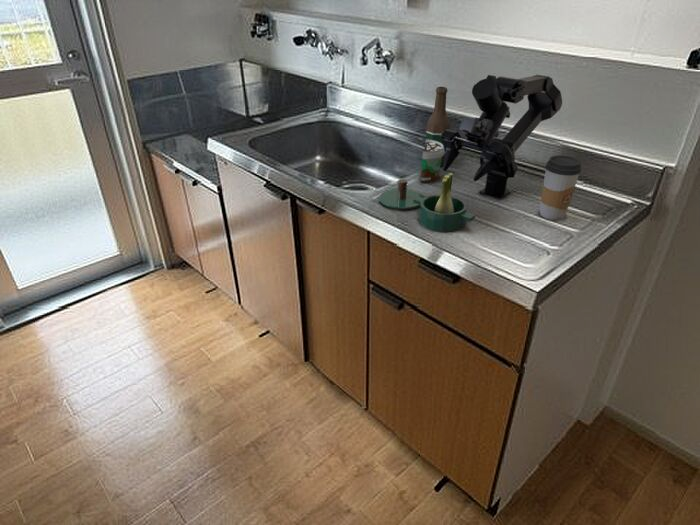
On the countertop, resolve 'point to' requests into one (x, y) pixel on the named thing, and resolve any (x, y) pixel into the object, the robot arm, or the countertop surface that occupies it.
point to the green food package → (431, 161)
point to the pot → (442, 214)
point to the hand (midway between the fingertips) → (458, 175)
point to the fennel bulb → (445, 196)
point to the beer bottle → (438, 119)
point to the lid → (400, 197)
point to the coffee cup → (559, 186)
